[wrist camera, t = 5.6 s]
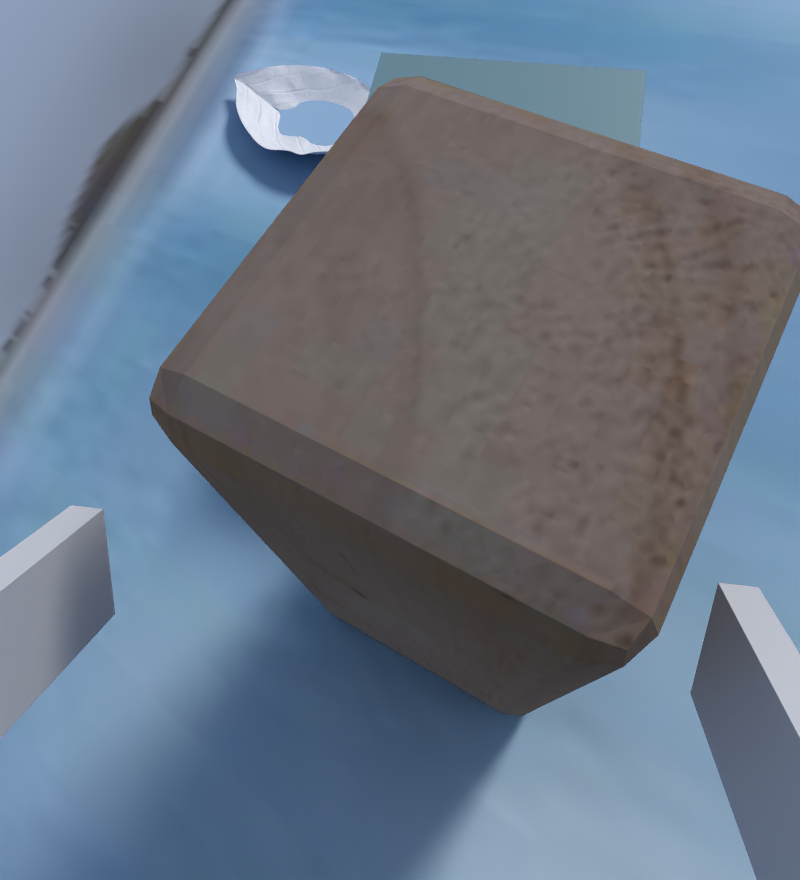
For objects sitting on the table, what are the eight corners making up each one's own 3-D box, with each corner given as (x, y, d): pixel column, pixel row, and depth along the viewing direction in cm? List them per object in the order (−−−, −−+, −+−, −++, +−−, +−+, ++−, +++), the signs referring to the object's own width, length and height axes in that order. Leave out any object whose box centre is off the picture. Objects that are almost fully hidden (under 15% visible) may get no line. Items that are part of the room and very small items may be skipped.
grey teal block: (603, 354, 30) (626, 292, 26) (337, 320, 32) (319, 256, 28) (623, 151, 34) (646, 70, 30) (390, 131, 36) (381, 52, 32)
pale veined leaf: (346, 202, 39) (338, 165, 37) (200, 134, 44) (186, 98, 41) (426, 124, 42) (424, 85, 40) (282, 68, 46) (272, 30, 44)
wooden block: (315, 606, 30) (106, 396, 12) (424, 425, 34) (387, 43, 15) (523, 727, 28) (651, 689, 10) (619, 517, 31) (852, 190, 13)
